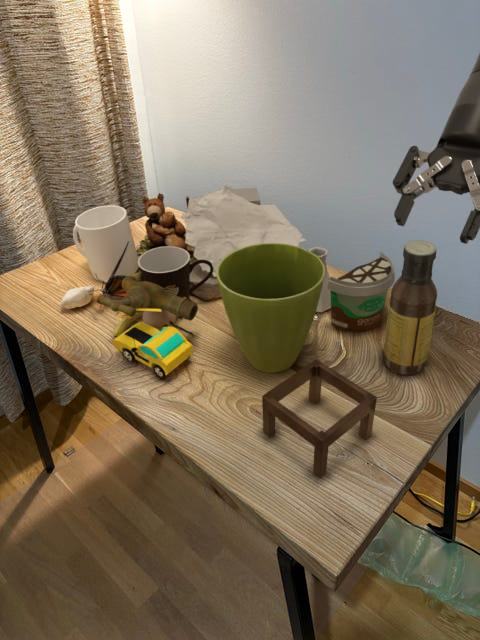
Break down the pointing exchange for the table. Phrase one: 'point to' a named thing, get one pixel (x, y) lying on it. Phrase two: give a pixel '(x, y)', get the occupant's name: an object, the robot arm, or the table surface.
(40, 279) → the table surface
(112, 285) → the butterfly
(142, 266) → the coffee mug
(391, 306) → the sauce bottle
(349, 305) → the food container
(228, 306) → the flower pot
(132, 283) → the action figure
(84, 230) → the mug
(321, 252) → the flask
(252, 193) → the toy
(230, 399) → the table surface
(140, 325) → the toy car
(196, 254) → the paper
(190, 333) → the stick
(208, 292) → the ceramic tile fragment
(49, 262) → the table surface
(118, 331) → the banana
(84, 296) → the dumpling
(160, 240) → the bear figurine
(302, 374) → the open square stand
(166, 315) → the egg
